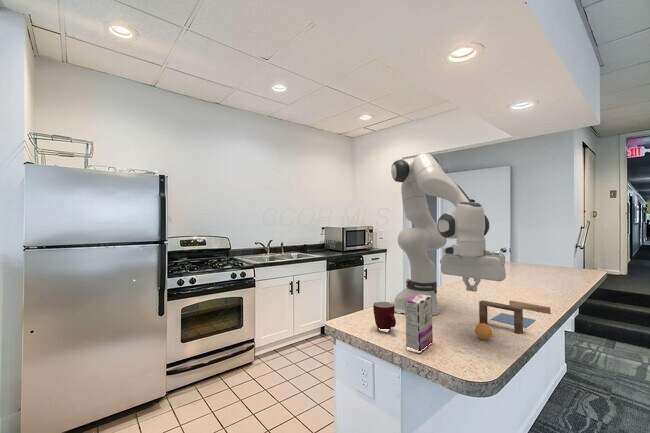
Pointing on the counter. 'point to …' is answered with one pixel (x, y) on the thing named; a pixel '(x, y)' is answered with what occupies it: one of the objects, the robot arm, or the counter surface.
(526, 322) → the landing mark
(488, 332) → the ball
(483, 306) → the bridge
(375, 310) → the mug
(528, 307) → the wall
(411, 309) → the candy bar box
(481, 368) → the counter surface
